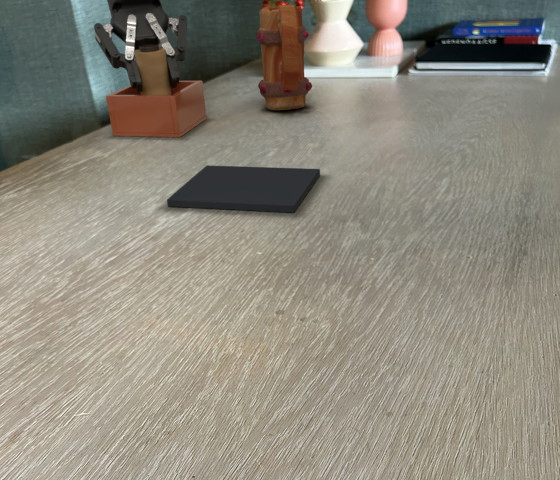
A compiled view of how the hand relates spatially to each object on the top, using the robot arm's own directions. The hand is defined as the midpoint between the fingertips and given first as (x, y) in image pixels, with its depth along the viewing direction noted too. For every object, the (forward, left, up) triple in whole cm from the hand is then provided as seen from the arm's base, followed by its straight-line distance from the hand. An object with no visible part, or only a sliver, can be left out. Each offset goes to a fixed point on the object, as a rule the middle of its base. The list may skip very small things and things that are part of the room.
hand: (157, 85), depth 96 cm
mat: (+21, -24, -6) cm, 33 cm away
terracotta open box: (-1, +2, -6) cm, 6 cm away
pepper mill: (-1, +2, -6) cm, 6 cm away
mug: (+16, +12, -6) cm, 21 cm away
